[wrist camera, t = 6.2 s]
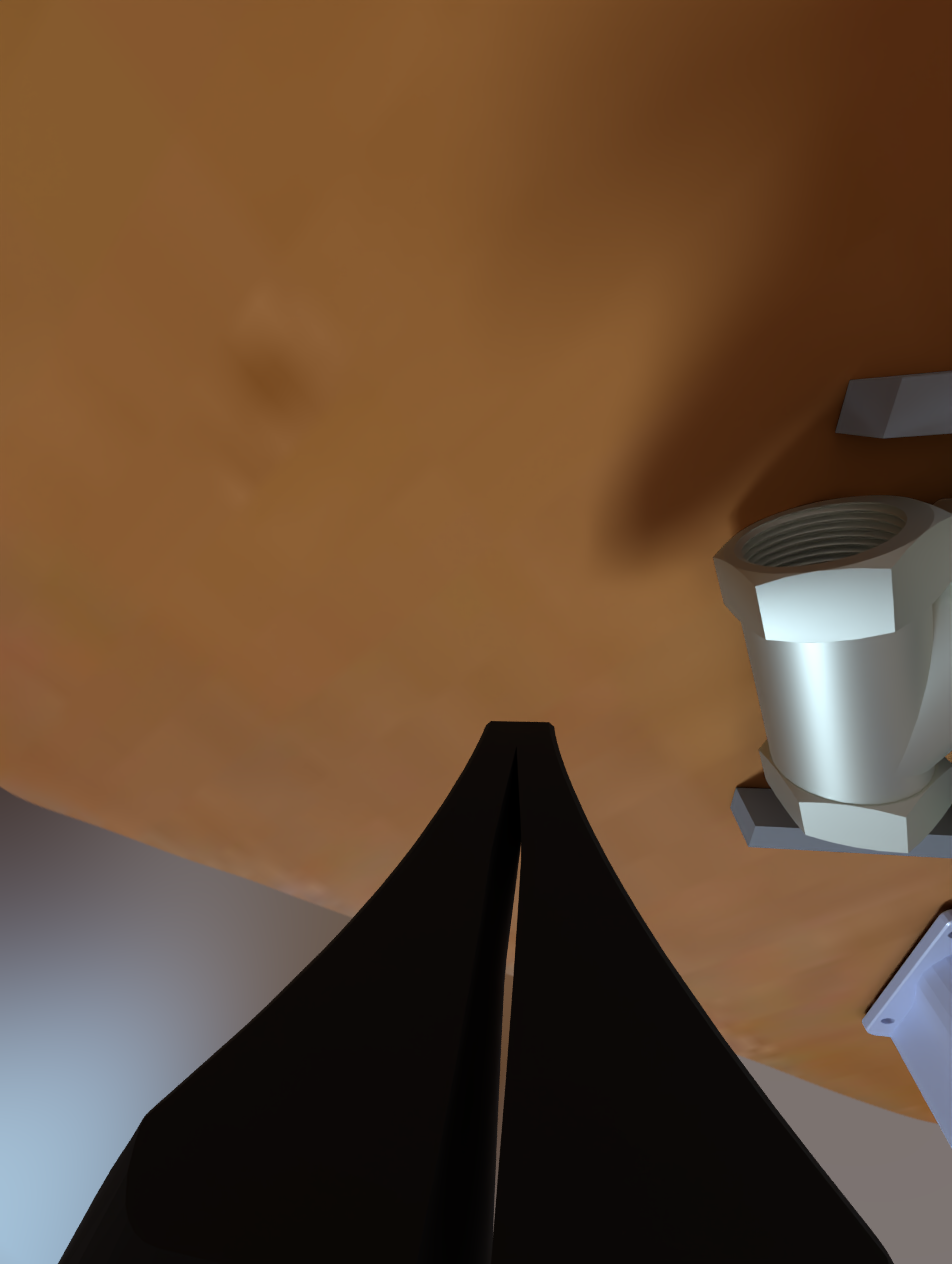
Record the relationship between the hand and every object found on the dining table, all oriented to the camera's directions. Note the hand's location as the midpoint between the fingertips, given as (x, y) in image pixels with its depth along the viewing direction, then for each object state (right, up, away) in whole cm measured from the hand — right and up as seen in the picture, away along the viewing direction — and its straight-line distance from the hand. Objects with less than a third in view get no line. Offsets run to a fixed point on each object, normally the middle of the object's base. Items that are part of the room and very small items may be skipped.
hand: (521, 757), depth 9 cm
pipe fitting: (+9, +3, +3) cm, 10 cm away
